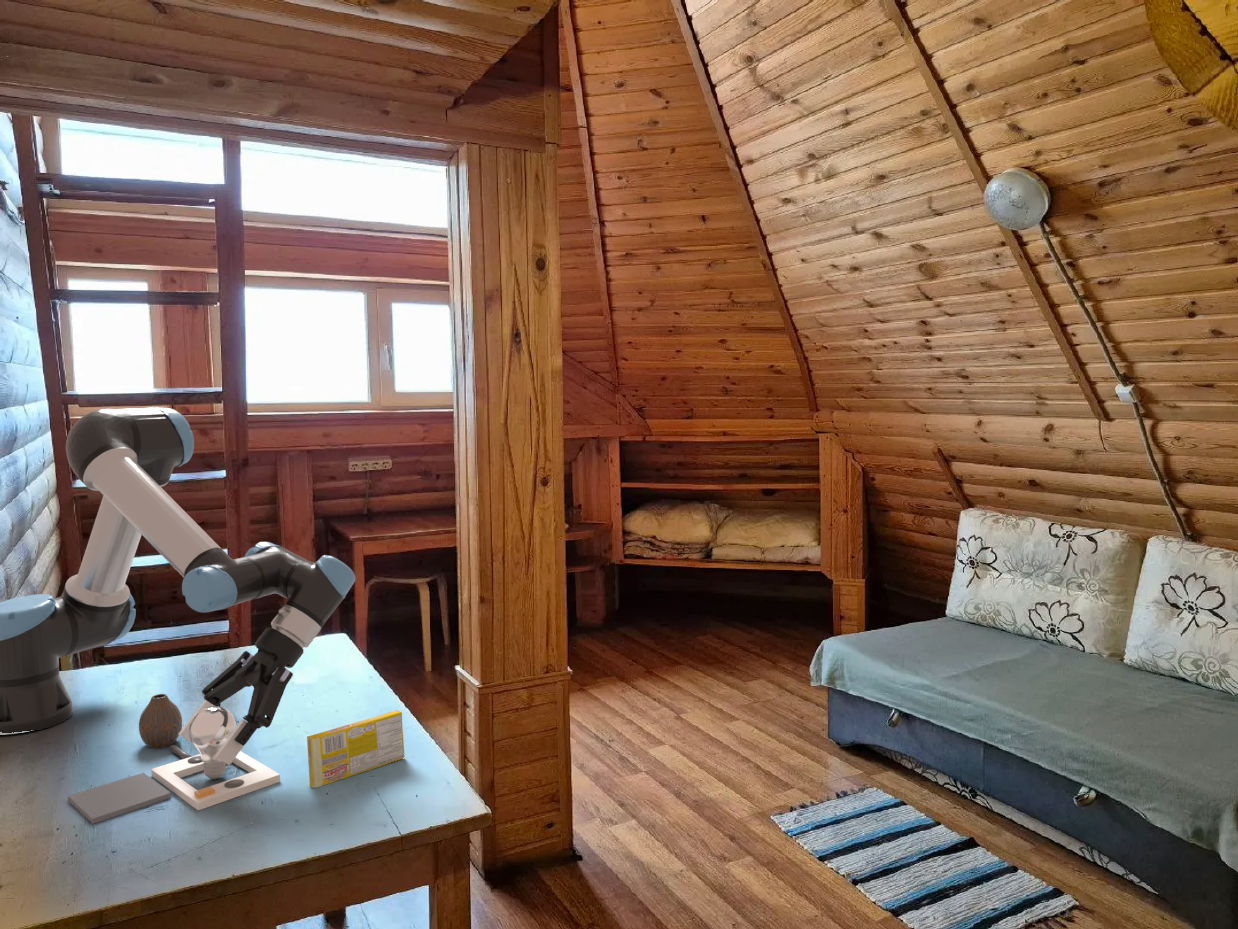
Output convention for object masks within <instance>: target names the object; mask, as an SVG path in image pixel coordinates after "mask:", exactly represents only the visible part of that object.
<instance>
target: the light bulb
mask: <svg viewBox="0 0 1238 929" xmlns="http://www.w3.org/2000/svg"><path fill="white" fill-rule="evenodd" d="M236 727H237V723H236V718H235V716H234V715H233V713H232V712H231V711H229V709H227V708H226V707H224V706H221V705H220V706H211V707H207V708H205V709H203V710H201V711H200V712H198V713H197V714H196V715H195V717H194V718H193V719H192V721H191V724H190V728H189V736H190V739H191V741H192V742H191V743H192V745H193V746H194V747H195V748H196V749H197V751H198V752H199V754H200V755H201V759H202V761H203V762H204V763H203V766H204V768H203V769H204V770H203V774H204V775H205V776H206V777H207V778H209V779H210V780H211V781H217V780H220V778H221V777H222V776H223V774H225V773H226V771H227V764H226V763H224V762H223V761H221V760H219V759H218V758H216V757H215V755H216V753H217V752H218V751H219V749H220V748H221V747H222V745H223V744H224V743H225V741H226V740H227V739H228V737H229V736H230V735H231V733H232V732H233V731H234V729H235V728H236Z"/></svg>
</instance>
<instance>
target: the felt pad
mask: <svg viewBox="0 0 1238 929" xmlns="http://www.w3.org/2000/svg"><path fill="white" fill-rule="evenodd" d="M171 798H172V793H171V791H170V790H169V789H166V788H165V786H163V785H161V784H160V783H158V781H157V780H156V781H155V780H154V778H153V777H150V776H149V775H147V774H146V773H145V772H141V773H138V774H135V775H132V776H128V777H125V778H121V779H118V780H115V781H112V782H108V783H106V784H102V785H100V786H95V787H92V788H89V789H85V790H83V791H80V792H76V793H74V794H70V795H67V801H68V803H70V804H71V803H72V804H73V805H74V806H75V807H76V808H77V809H78V810H79V811H80V812H79V811H78V810H77V809H76V808H75V807H74V806H73V805H72V804H71V805H72V806H73V807H74V808H75V809H76V810H77V811H78V812H79V813H81V814H82V816H83V817H84V818H86V820H88V821H89V822H90V823H91V824H93V825H94V824H96V823H100V822H103V821H106V820H109V819H111V818H114V817H118V816H120V815H123V814H126V813H130V812H133V811H136V810H138V809H142V808H144V807H148V806H150V805H153V804H157V803H160V802H162V801H165V800H168V799H171Z"/></svg>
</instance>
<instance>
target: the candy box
mask: <svg viewBox="0 0 1238 929" xmlns="http://www.w3.org/2000/svg"><path fill="white" fill-rule="evenodd" d="M306 743H307V757H308V778H309V786H310V787H312V789H317V788H319V787H322V785H323V786H326V785H329V784H332V783H335V782H337V780H338V781H340V779H341V780H344V779H348V778H349V777H353V776H357V775H358V774H363V773H365V772H368V771H370V770H373V769H377V768H380V767H384V766H386V765H389V764H392V763H391V762H393V763H395V762H398V761H401V760H400V759H402V760H404V759H405V758H406V757H405V745H404V744H405V743H404V730H403V712H402V711H400V710H394V711H390V712H386V713H383V714H380V715H376V716H372V717H369V718H366V719H363V720H360V721H356V722H352V723H349V724H345V725H343V726H340V727H339V726H338V727H335V728H331V729H329V730H325V731H321V732H318V733H314V734H311V735H308V736H306ZM404 757H405V758H404ZM403 758H404V759H403ZM397 760H398V761H397ZM394 761H395V762H394ZM388 763H389V764H388Z"/></svg>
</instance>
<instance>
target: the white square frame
mask: <svg viewBox="0 0 1238 929" xmlns="http://www.w3.org/2000/svg"><path fill="white" fill-rule="evenodd" d="M169 747H170V748H169V750H170V751H171V752H172V753H173V754H176V756H178V757H180V758H181V759H180V760H176V761H173V762H170V763H166V764H163V765H160V766H156V767H153V768H151V769H150V772H151V773H150V774H151V778H152V779H155V780H156V782H159V784H160V783H161V784H162V786H163V787H166V788H167V790H169V791H170V792H172V793H174V794H175V795H176V796H177V797H179V798H180V799H182V801H185V802H186V803H187V804H189V805H190V806H191V807H193V808H194V809H195V810H197V811H200V810H203V809H206V808H210V807H213V806H214V805H217V804H220V803H224V802H227V801H229V800H232V799H234V798H238V797H240V796H243V795H246V794H249V793H252V792H254V791H258V790H261V789H263V788H267V787H269V786H272V785H274V784H278V783H281V774H280V773H278V772H277V771H275V770H274V769H272V768H270V767H268V766H266V765H265V764H263V763H262V762H259V761H258V760H256V759H255V758H253V757H251V756H250V755H248V754H246V753H245V752H243V751H241V750H240V752H239V753H238V754H237V756H236V757H235V759H234V760H233V761H232V764H235V765H236V766H238V767H240V768H241V769H243V770H244V771H246V772H247V773H246V774H243V775H242V774H241V775H240V776H237V777H234V778H231V779H228V780H225V781H222V782H219V783H216V784H213V785H209V786H207V787H203V788H200V789H197V788H195V787H193V786H192V785H190V784H189V783H188V782H186V781H185V780H183V779H182V778H184V777H187V776H190V775H193V773H194V774H198V773H199V772H204V769H203V768H204V766H203V763H204V762H203V761H202V759H201V755H200V753H199V754H196V755H193V756H192V755H191V754H189V753H187V752H186V751H185V750H183V749H181V748H179V747H178V746H177V745H175V744H171V745H170V746H169Z"/></svg>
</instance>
